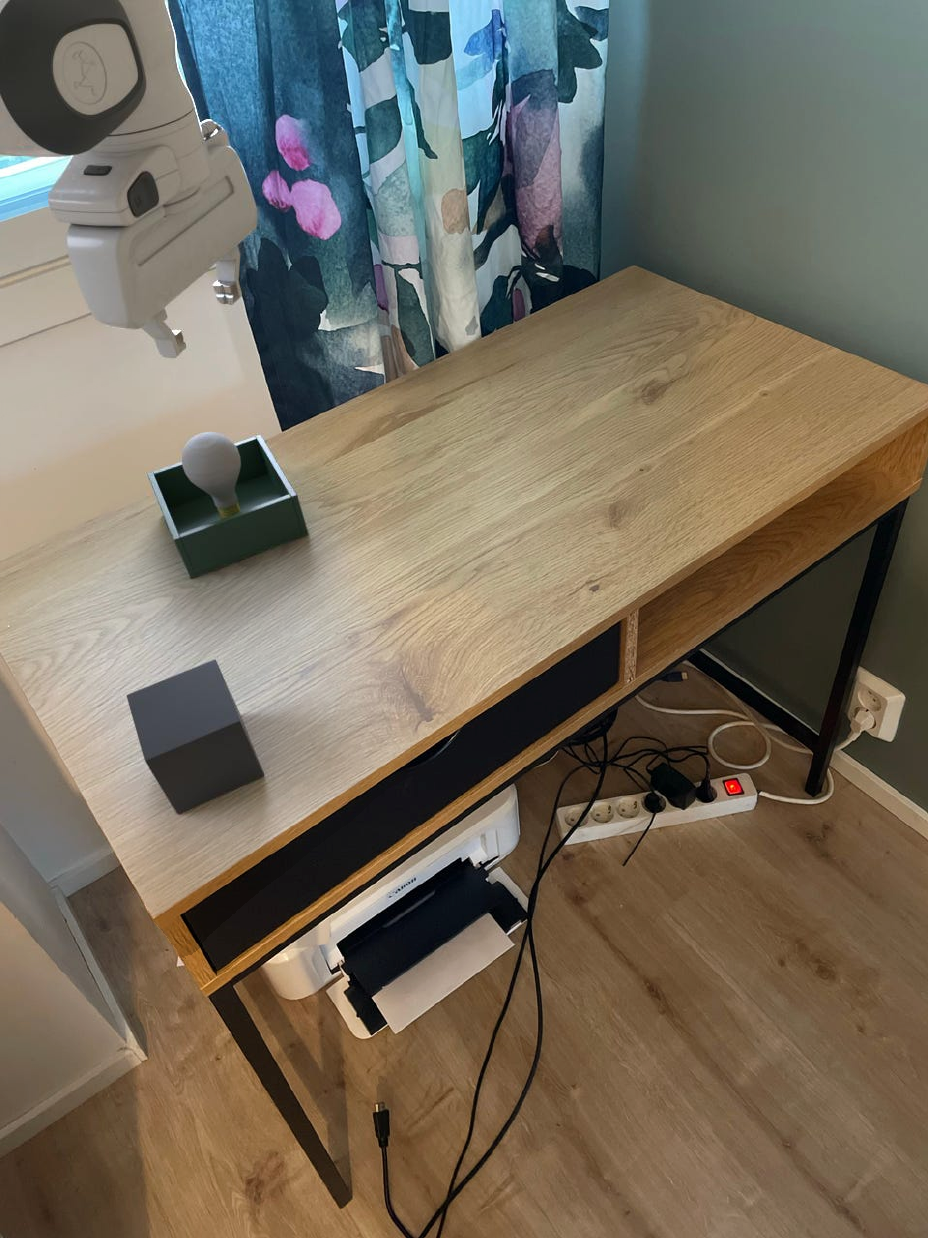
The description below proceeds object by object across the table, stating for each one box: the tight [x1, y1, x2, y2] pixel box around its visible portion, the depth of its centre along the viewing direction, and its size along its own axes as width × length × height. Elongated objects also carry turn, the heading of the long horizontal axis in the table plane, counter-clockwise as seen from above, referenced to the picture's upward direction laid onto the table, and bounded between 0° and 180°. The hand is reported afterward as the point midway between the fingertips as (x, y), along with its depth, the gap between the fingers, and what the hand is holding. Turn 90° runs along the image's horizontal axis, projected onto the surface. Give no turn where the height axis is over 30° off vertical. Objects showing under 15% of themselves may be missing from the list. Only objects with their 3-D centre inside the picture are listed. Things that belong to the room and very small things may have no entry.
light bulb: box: [181, 431, 241, 519], centre depth 88 cm, size 5×6×10 cm
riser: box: [126, 659, 265, 815], centre depth 68 cm, size 7×7×7 cm
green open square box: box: [146, 434, 309, 580], centre depth 90 cm, size 12×12×5 cm
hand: (203, 326), depth 78 cm, fingers open, 8 cm apart
